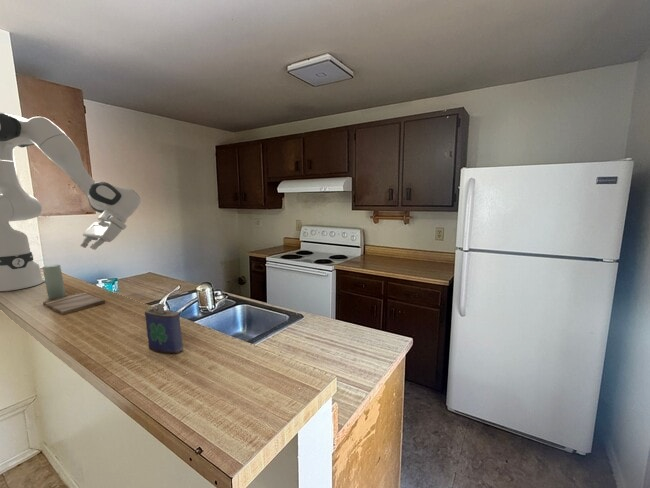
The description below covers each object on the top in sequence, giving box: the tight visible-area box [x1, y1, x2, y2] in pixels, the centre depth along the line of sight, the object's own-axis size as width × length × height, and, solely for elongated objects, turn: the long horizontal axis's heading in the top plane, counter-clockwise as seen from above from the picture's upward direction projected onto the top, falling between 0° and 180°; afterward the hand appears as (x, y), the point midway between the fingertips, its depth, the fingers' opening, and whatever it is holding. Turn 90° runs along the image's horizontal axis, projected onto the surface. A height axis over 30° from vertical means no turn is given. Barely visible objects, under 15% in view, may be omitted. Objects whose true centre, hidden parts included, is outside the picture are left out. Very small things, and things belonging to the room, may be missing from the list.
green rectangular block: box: [42, 264, 67, 300], centre depth 117 cm, size 5×5×12 cm
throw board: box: [42, 292, 106, 315], centre depth 109 cm, size 18×12×1 cm, turn 57°
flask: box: [144, 303, 184, 355], centre depth 73 cm, size 10×3×12 cm, turn 69°
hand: (87, 247), depth 125 cm, fingers open, 8 cm apart
